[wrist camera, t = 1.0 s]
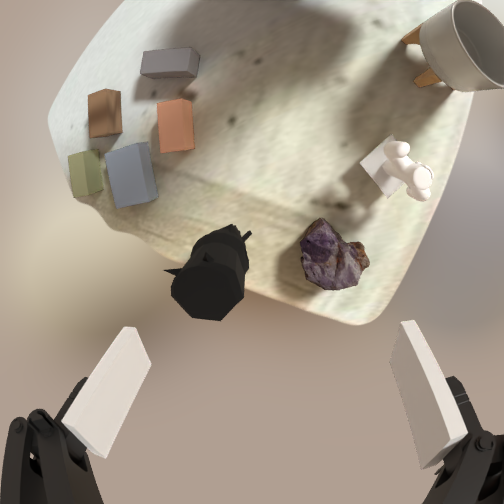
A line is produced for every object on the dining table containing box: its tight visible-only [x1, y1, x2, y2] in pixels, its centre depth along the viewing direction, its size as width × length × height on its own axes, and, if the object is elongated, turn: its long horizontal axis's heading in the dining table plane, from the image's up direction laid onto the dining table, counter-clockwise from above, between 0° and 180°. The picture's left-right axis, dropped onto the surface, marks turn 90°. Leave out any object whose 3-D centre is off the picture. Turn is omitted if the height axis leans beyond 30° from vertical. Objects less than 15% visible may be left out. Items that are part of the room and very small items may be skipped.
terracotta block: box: [157, 98, 195, 153], centre depth 38 cm, size 8×4×5 cm, turn 3°
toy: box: [164, 224, 252, 321], centre depth 38 cm, size 8×9×20 cm
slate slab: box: [104, 142, 158, 209], centre depth 43 cm, size 10×7×4 cm
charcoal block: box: [140, 48, 200, 79], centre depth 34 cm, size 8×4×5 cm, turn 83°
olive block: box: [68, 149, 103, 198], centre depth 43 cm, size 8×4×5 cm, turn 3°
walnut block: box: [88, 89, 123, 138], centre depth 38 cm, size 8×4×5 cm, turn 3°
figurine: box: [360, 134, 434, 201], centre depth 33 cm, size 7×9×15 cm
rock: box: [300, 218, 370, 290], centre depth 43 cm, size 12×9×10 cm
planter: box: [401, 0, 504, 92], centre depth 22 cm, size 13×13×18 cm
